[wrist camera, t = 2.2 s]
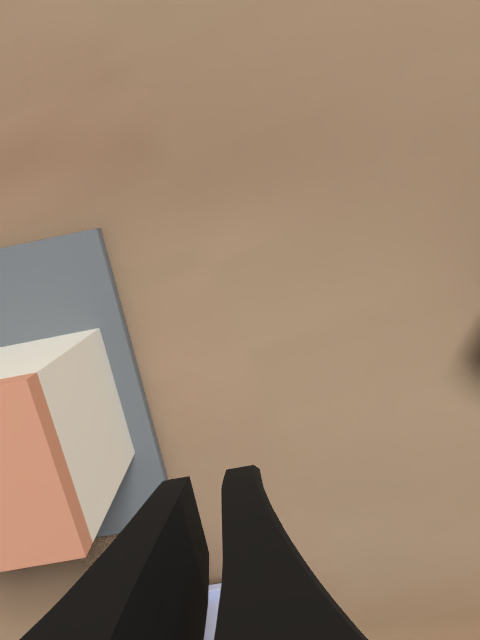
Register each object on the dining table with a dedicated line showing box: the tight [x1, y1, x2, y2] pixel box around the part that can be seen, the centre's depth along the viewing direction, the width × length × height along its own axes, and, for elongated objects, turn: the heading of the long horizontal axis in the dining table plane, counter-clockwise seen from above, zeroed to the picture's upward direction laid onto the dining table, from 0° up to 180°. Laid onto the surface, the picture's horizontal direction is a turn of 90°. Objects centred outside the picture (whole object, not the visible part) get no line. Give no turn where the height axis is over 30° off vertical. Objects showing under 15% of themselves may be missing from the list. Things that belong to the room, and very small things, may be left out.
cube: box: [0, 328, 135, 572], centre depth 15 cm, size 6×6×6 cm
